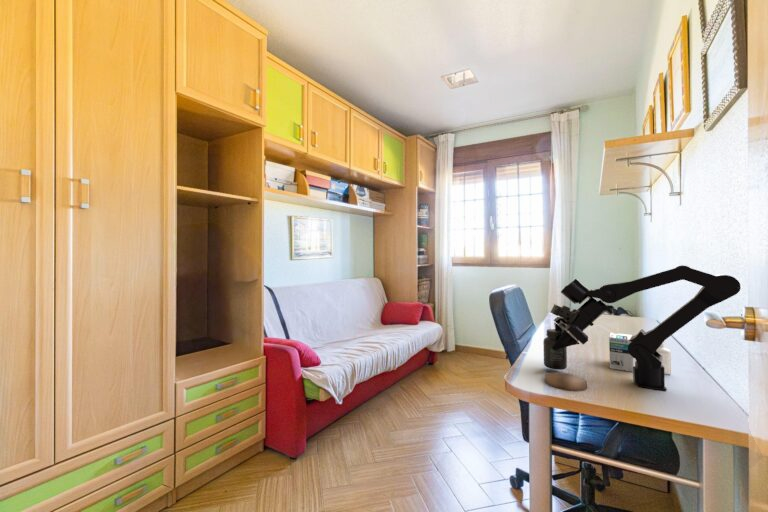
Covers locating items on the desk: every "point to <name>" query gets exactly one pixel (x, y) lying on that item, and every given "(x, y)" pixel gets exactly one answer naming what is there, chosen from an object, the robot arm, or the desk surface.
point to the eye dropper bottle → (665, 358)
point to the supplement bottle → (554, 351)
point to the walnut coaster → (566, 381)
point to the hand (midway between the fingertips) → (550, 346)
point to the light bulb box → (620, 352)
